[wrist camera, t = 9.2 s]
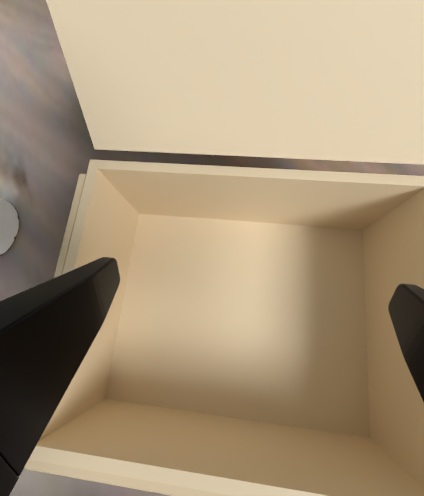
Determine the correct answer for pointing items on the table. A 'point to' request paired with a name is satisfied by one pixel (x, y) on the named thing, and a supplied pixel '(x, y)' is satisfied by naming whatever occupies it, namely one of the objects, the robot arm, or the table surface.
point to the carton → (244, 333)
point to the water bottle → (7, 225)
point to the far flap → (249, 76)
